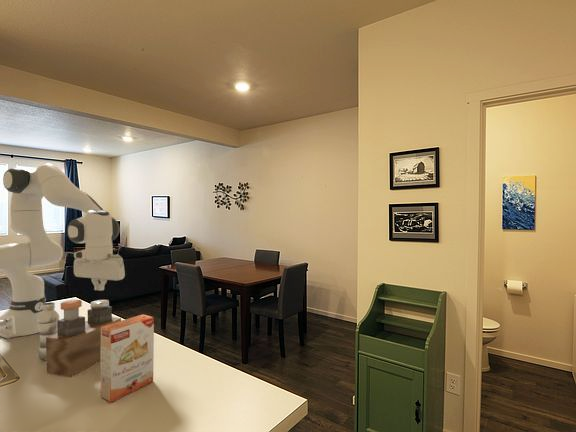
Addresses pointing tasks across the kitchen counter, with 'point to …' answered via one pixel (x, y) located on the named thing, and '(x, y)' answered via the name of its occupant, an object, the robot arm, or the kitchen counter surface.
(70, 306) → the orange ball
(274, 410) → the kitchen counter surface
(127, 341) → the cracker box
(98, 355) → the stand
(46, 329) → the plastic bottle
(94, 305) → the grey plunger
